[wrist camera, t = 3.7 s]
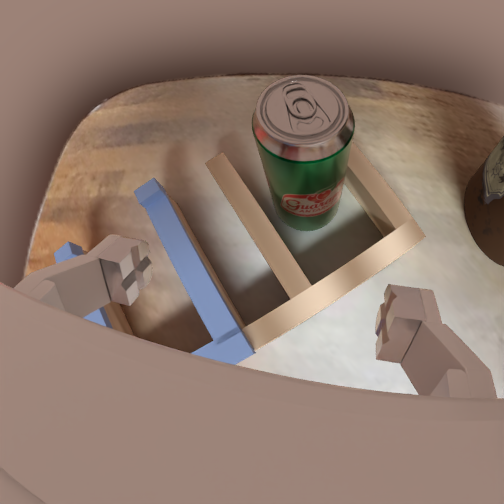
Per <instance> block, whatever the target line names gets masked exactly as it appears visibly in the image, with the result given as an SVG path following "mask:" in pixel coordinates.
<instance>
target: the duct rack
mask: <svg viewBox="0 0 504 504" xmlns="http://www.w3.org/2000/svg"><path fill="white" fill-rule="evenodd" d="M205 164H206V166H207V167H208V169H209V170H210V172H211V174H212V175H213V177H214V179H215V180H216V182H217V183H218V185H219V187H220V188H221V190H222V191H223V193H224V194H225V196H226V198H227V199H228V201H229V202H230V204H231V206H232V207H233V209H234V210H235V212H236V213H237V215H238V217H239V218H240V220H241V221H242V223H243V225H244V226H245V228H246V229H247V231H248V233H249V234H250V236H251V237H252V239H253V240H254V242H255V244H256V245H257V247H258V248H259V250H260V252H261V253H262V255H263V256H264V258H265V260H266V261H267V263H268V264H269V266H270V268H271V269H272V271H273V272H274V274H275V276H276V277H277V279H278V280H279V282H280V284H281V285H282V287H283V288H284V290H285V292H286V293H287V295H288V296H289V298H290V300H289V301H287V302H286V303H284V304H282V305H281V306H279V307H277V308H276V309H274V310H273V311H271V312H269V313H268V314H266V315H264V316H263V317H261V318H259V319H258V320H256V321H254V322H253V323H251V324H249V325H248V326H246V325H245V323H244V322H243V320H242V318H241V317H240V315H239V313H238V311H237V310H236V308H235V306H234V305H233V303H232V301H231V299H230V298H229V296H228V294H227V292H226V291H225V289H224V287H223V285H222V284H221V282H220V280H219V278H218V277H217V275H216V273H215V271H214V270H213V268H212V266H211V264H210V262H209V261H208V259H207V257H206V255H205V254H204V252H203V250H202V248H201V246H200V245H199V243H198V241H197V239H196V237H195V236H194V234H193V232H192V230H191V228H190V226H189V225H188V223H187V221H186V219H185V217H184V215H183V213H182V212H181V210H180V208H179V206H178V204H177V203H176V202H175V201H174V200H173V199H172V198H171V197H170V196H169V195H168V194H167V195H168V197H169V199H170V201H171V203H172V205H173V207H174V209H175V210H176V212H177V214H178V216H179V218H180V220H181V222H182V224H183V225H184V227H185V229H186V231H187V233H188V235H189V237H190V238H191V240H192V242H193V244H194V246H195V248H196V249H197V251H198V253H199V255H200V257H201V259H202V260H203V262H204V264H205V266H206V268H207V269H208V271H209V273H210V275H211V277H212V278H213V280H214V282H215V284H216V285H217V287H218V289H219V291H220V293H221V294H222V296H223V298H224V300H225V301H226V303H227V305H228V306H229V308H230V310H231V312H232V313H233V315H234V317H235V319H236V320H237V322H238V324H239V325H240V327H241V329H242V331H243V332H244V334H245V336H246V337H247V339H248V341H249V342H250V344H251V346H252V347H253V349H254V351H256V350H258V349H259V348H261V347H263V346H265V345H266V344H268V343H270V342H271V341H273V340H275V339H276V338H278V337H280V336H281V335H283V334H285V333H286V332H288V331H290V330H291V329H293V328H294V327H296V326H298V325H299V324H301V323H303V322H304V321H306V320H307V319H309V318H310V317H312V316H314V315H315V314H317V313H318V312H320V311H321V310H323V309H325V308H326V307H328V306H329V305H331V304H332V303H334V302H335V301H337V300H338V299H340V298H341V297H343V296H344V295H346V294H347V293H349V292H350V291H352V290H353V289H355V288H356V287H358V286H359V285H361V284H362V283H364V282H365V281H367V280H368V279H369V278H371V277H372V276H374V275H375V274H377V273H378V272H379V271H381V270H382V269H384V268H385V267H387V266H388V265H389V264H391V263H392V262H394V261H395V260H396V259H398V258H399V257H400V256H402V255H403V254H405V253H406V252H407V251H409V250H410V249H411V248H413V247H414V246H415V245H416V244H417V243H419V242H420V241H421V240H422V239H423V238H424V237H426V236H425V234H424V233H423V232H422V230H421V229H420V227H419V226H418V224H417V223H416V222H415V220H414V219H413V217H412V216H411V215H410V213H409V212H408V210H407V209H406V208H405V206H404V205H403V204H402V202H401V201H400V200H399V198H398V197H397V196H396V194H395V193H394V192H393V190H392V189H391V188H390V187H389V185H388V184H387V183H386V181H385V180H384V179H383V178H382V176H381V175H380V174H379V173H378V171H377V170H376V169H375V168H374V166H373V165H372V164H371V163H370V162H369V160H368V159H367V158H366V157H365V156H364V154H363V153H362V152H361V151H360V150H359V149H358V147H357V146H356V145H355V144H354V143H353V142H352V145H351V150H350V155H349V160H348V165H347V170H346V175H345V180H344V184H345V185H346V186H347V188H348V189H349V190H350V192H351V193H352V194H353V196H354V197H355V198H356V200H357V201H358V202H359V204H360V205H361V206H362V208H363V209H364V210H365V212H366V213H367V214H368V216H369V217H370V219H371V220H372V221H373V223H374V224H375V225H376V227H377V228H378V230H379V231H380V233H381V234H382V235H383V237H384V238H383V239H382V240H380V241H379V242H377V243H376V244H374V245H373V246H371V247H370V248H369V249H367V250H366V251H364V252H363V253H361V254H360V255H358V256H357V257H355V258H354V259H352V260H351V261H349V262H348V263H346V264H345V265H343V266H342V267H340V268H339V269H337V270H336V271H334V272H333V273H331V274H330V275H328V276H326V277H325V278H323V279H322V280H320V281H319V282H317V283H316V284H314V285H311V284H310V282H309V281H308V279H307V278H306V276H305V275H304V273H303V271H302V270H301V268H300V267H299V265H298V264H297V262H296V261H295V259H294V258H293V256H292V254H291V253H290V251H289V250H288V248H287V247H286V245H285V244H284V242H283V241H282V239H281V238H280V236H279V235H278V233H277V232H276V230H275V229H274V227H273V226H272V224H271V223H270V221H269V219H268V218H267V216H266V215H265V213H264V212H263V210H262V209H261V207H260V206H259V205H258V203H257V202H256V200H255V199H254V197H253V196H252V194H251V193H250V191H249V190H248V188H247V187H246V185H245V184H244V182H243V181H242V179H241V178H240V176H239V175H238V173H237V172H236V171H235V169H234V168H233V166H232V165H231V163H230V162H229V160H228V159H227V157H226V156H225V154H224V153H223V152H222V153H221V154H219V155H217V156H216V157H214V158H212V159H211V160H209V161H208V162H206V163H205ZM83 253H84V255H86V254H87V253H88V252H86V251H84V250H83ZM104 309H105V311H106V313H107V316H108V318H109V321H110V323H111V325H112V327H113V329H114V330H117V331H120V332H123V333H126V334H129V335H132V336H134V334H133V332H132V330H131V328H130V326H129V324H128V321H127V319H126V317H125V315H124V312H123V310H122V308H121V306H120V303H116V302H113V301H111V302H110V303H108V304H106V305H105V306H104Z"/></svg>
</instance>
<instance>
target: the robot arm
mask: <svg viewBox="0 0 504 504" xmlns="http://www.w3.org/2000/svg"><path fill="white" fill-rule="evenodd" d="M149 252H150V250H149V244H148V243H147V242H146V241H144V240H139V239H135V238H130V237H125V236H120V235H115V234H111V235H109V236H107V237H106V238H105V239H104V240H103V241H101V242H100V243H99V244H98V245H97V246H95V247H94V248H93V249H92V250H91V251H90V252H88V253H87V254H86V255H80V256H77V257H74V258H71V259H68V260H65V261H62V262H59V263H57V264H54V265H51V266H48V267H45V268H43V269H40V270H37V271H34V272H32V273H30V274H29V275H28V276H27V277H25V278H24V279H23V280H22V281H21V282H20V283H19V284H18V285H17V286H15V287H14V288H11V287H9V286H7V285H5V284H3V283H0V504H504V398H497V395H496V391H495V387H494V383H493V379H492V375H491V371H490V370H489V369H488V368H487V366H486V365H485V364H484V363H483V362H482V361H481V360H480V359H479V358H478V357H477V356H476V355H475V354H474V353H473V352H472V350H471V349H470V348H469V347H468V346H467V345H466V344H465V343H464V342H463V341H462V340H461V339H460V338H459V337H458V336H457V335H456V334H455V333H454V332H453V331H452V330H451V329H450V328H449V327H448V326H447V325H446V324H442V321H441V317H440V314H439V310H438V306H437V303H436V299H435V296H434V292H433V291H432V290H428V289H420V288H411V287H405V286H398V285H391V284H388V286H387V288H386V290H385V293H384V299H385V302H384V303H383V304H381V305H380V308H379V311H378V314H377V319H376V327H375V334H376V335H377V336H378V339H377V342H376V360H382V361H389V362H395V363H401V364H400V365H401V366H402V368H403V369H404V371H405V373H406V374H407V376H408V378H409V379H410V381H411V383H412V384H413V386H414V387H415V389H416V391H417V392H418V394H419V395H412V394H401V393H391V392H382V391H374V390H366V389H358V388H351V387H344V386H337V385H331V384H325V383H319V382H313V381H308V380H302V379H297V378H292V377H287V376H282V375H277V374H272V373H268V372H263V371H259V370H254V369H250V368H246V367H241V366H237V365H233V364H229V363H225V362H221V361H217V360H213V359H209V358H205V357H202V356H198V355H194V354H191V353H187V352H184V351H180V350H177V349H173V348H170V347H167V346H163V345H160V344H157V343H153V342H150V341H147V340H144V339H141V338H138V337H135V336H132V335H129V334H126V333H123V332H120V331H117V330H114V329H111V328H109V327H106V326H103V325H100V324H98V323H95V322H92V321H89V320H87V319H84V318H83V317H85V316H87V315H89V314H90V313H92V312H94V311H96V310H97V309H99V308H101V307H103V306H105V305H106V304H108V303H110V302H111V301H113V302H116V303H120V304H124V305H128V306H130V305H131V304H132V303H133V302H134V300H135V299H136V298H137V297H138V296H139V290H140V289H142V288H144V287H146V286H147V285H148V283H149V282H150V279H151V276H152V262H151V261H150V260H149V258H148V257H147V256H148V254H149Z"/></svg>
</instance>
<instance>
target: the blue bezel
mask: <svg viewBox="0 0 504 504" xmlns="http://www.w3.org/2000/svg"><path fill="white" fill-rule="evenodd" d="M134 193H135V195H136V197H137V199H138V202H139V204H141V205H142V206H143V207H144V208H146V210H147V213H148V215H149V217H150V219H151V221H152V223H153V225H154V227H155V229H156V231H157V234H158V236H159V238H160V240H161V242H162V244H163V246H164V248H165V250H166V252H167V254H168V256H169V258H170V260H171V262H172V264H173V266H174V268H175V270H176V272H177V274H178V275H179V277H180V279H181V281H182V283H183V285H184V287H185V289H186V291H187V293H188V295H189V296H190V298H191V300H192V302H193V304H194V306H195V308H196V309H197V311H198V313H199V315H200V317H201V319H202V320H203V322H204V324H205V326H206V328H207V330H208V331H209V333H210V335H211V337H212V338H213V341H212V342H210V343H208V344H206V345H205V346H203V347H201V348H199V349H198V350H196V351H194V352H192V353H191V354H194V355H198V356H202V357H205V358H209V359H213V360H217V361H221V362H225V363H229V364H233V365H235V364H237V363H239V362H241V361H242V360H244V359H246V358H248V357H249V356H251V355H253V354H255V353H256V352H255V351H254V349H253V347H252V346H251V344H250V342H249V341H248V339H247V337H246V336H245V334H244V332H243V331H242V329H241V327H240V325H239V324H238V322H237V320H236V319H235V317H234V315H233V313H232V312H231V310H230V308H229V306H228V305H227V303H226V301H225V300H224V298H223V296H222V294H221V293H220V291H219V289H218V287H217V285H216V284H215V282H214V280H213V278H212V277H211V275H210V273H209V271H208V269H207V268H206V266H205V264H204V262H203V260H202V259H201V257H200V255H199V253H198V251H197V249H196V248H195V246H194V244H193V242H192V240H191V238H190V237H189V235H188V233H187V231H186V229H185V227H184V225H183V224H182V222H181V220H180V218H179V216H178V214H177V212H176V210H175V209H174V207H173V205H172V203H171V201H170V199H169V197H168V195H167V193H166V191H165V189H164V188H163V186H162V185H161V184H160V183H159V182H158V181H157V180H156V179H155V178H152V179H151V180H149V181H148V182H147V183H145V184H144V185H142V186H141V187H139V188H138V189H137V190H135V191H134ZM80 255H84V253H83V250H82V247H80V246H78V245H76V244H73V243H71V242H69V241H68V242H67V243H66V244H65V245H63V246H62V247H61V248H60V249H59V250H57V251H56V252H55V253H54V256H55V259H56V263H59V262H62V261H65V260H68V259H71V258H74V257H77V256H80ZM83 318H84V319H87V320H89V321H92V322H95V323H98V324H100V325H103V326H106V327H109V328H111V329H113V327H112V325H111V323H110V321H109V318H108V316H107V313H106V311H105V309H104V306H103V307H101V308H99V309H97V310H96V311H94V312H92V313H90V314H89V315H87V316H85V317H83Z"/></svg>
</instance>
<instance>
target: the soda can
mask: <svg viewBox="0 0 504 504" xmlns="http://www.w3.org/2000/svg"><path fill="white" fill-rule="evenodd" d="M354 128H355V121H354V116H353V113H352V111H351V109H350V107H349V105H348V103H347V100H346V98H345V96H344V95H343V93H342V92H341V91H340V90H339V89H338V88H337V87H336V86H335V85H333V84H332V83H330V82H329V81H327V80H324V79H322V78H319V77H315V76H309V75H294V76H289V77H285V78H282V79H280V80H277V81H275V82H274V83H272V84H271V85H269V86H268V87H267V88H266V89H265V90H264V91H263V92H262V94H261V95H260V97H259V99H258V102H257V107H256V109H255V111H254V114H253V117H252V130H253V134H254V137H255V141H256V144H257V147H258V151H259V154H260V158H261V161H262V165H263V168H264V172H265V175H266V179H267V182H268V186H269V189H270V193H271V196H272V200H273V204H274V207H275V210H276V213H277V215H278V216H279V218H280V219H281V220H282V221H283V222H284V223H285V224H286V225H288V226H290V227H291V228H294V229H297V230H301V231H313V230H317V229H320V228H322V227H324V226H325V225H327V224H328V223H329V222H330V221H331V220H332V219H333V218H334V216H335V215H336V213H337V210H338V207H339V202H340V198H341V193H342V189H343V184H344V180H345V175H346V170H347V165H348V160H349V155H350V150H351V145H352V140H353V135H354Z"/></svg>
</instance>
